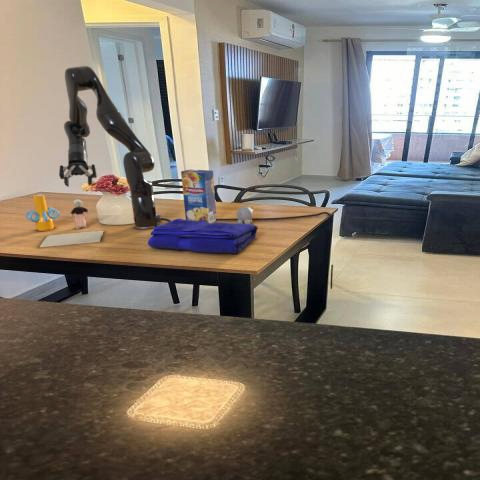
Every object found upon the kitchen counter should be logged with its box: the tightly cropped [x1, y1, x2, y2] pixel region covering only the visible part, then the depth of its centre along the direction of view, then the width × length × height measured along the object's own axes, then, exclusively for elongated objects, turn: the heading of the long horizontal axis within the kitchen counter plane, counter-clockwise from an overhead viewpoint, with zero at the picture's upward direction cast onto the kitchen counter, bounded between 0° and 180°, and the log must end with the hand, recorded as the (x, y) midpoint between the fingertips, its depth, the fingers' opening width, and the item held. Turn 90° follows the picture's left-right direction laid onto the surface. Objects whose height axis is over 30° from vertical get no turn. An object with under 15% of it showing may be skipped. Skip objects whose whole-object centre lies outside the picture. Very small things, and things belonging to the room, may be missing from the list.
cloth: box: [39, 230, 104, 248], centre depth 154 cm, size 20×14×1 cm
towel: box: [147, 218, 258, 255], centre depth 151 cm, size 26×36×9 cm
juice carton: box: [180, 168, 217, 223], centre depth 177 cm, size 12×8×24 cm, turn 75°
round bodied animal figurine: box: [236, 205, 254, 225], centre depth 180 cm, size 7×12×8 cm, turn 165°
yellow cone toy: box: [24, 193, 60, 232], centre depth 163 cm, size 12×10×15 cm
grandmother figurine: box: [69, 199, 91, 230], centre depth 167 cm, size 8×4×13 cm, turn 148°
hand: (78, 185), depth 171 cm, fingers open, 8 cm apart
